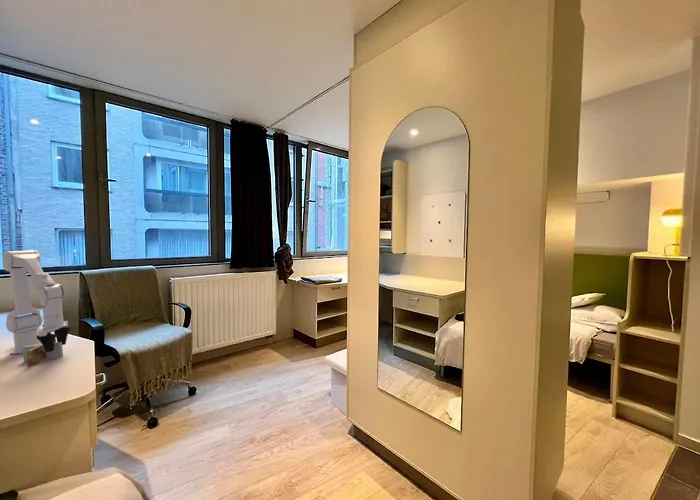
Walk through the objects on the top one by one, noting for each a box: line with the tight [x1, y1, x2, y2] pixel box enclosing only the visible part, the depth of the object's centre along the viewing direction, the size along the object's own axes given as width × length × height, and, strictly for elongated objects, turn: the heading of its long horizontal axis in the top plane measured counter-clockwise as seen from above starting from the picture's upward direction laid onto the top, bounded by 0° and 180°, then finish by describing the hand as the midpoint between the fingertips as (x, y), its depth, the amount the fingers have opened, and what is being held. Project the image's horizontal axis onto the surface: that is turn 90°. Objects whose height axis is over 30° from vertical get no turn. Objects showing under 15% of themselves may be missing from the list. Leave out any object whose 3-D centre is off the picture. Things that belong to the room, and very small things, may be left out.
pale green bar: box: [22, 341, 64, 363], centre depth 123 cm, size 2×12×6 cm, turn 106°
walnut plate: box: [27, 338, 57, 367], centre depth 123 cm, size 14×2×6 cm, turn 16°
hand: (56, 348), depth 124 cm, fingers open, 7 cm apart
